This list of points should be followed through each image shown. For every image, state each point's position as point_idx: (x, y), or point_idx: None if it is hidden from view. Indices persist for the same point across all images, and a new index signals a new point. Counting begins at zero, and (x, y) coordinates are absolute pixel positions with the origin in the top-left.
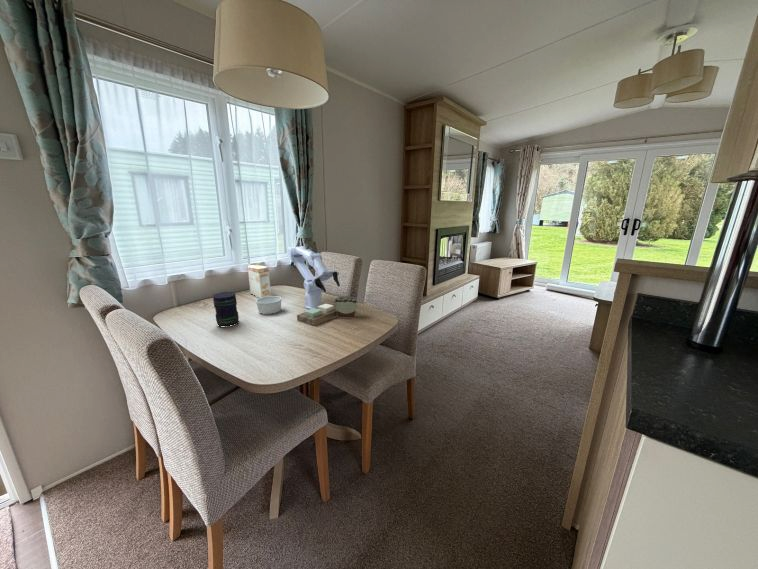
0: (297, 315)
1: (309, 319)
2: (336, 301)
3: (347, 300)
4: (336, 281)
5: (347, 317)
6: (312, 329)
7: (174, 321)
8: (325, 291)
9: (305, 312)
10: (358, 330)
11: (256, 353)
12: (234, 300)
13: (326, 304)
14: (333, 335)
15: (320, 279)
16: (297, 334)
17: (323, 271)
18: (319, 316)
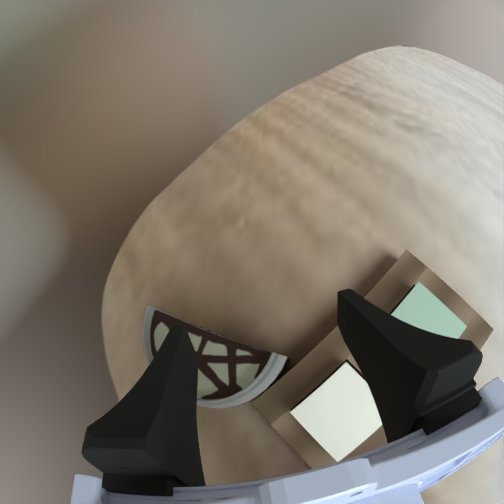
0: (490, 326)
1: (427, 268)
2: (266, 352)
3: (195, 326)
4: (182, 379)
5: (240, 342)
6: (401, 227)
7: None
8: (340, 316)
9: (459, 323)
10: (226, 205)
11: (486, 112)
12: None
13: (336, 443)
14: (315, 172)
15: (402, 444)
16: (443, 191)
17: (347, 472)
18: (382, 298)
